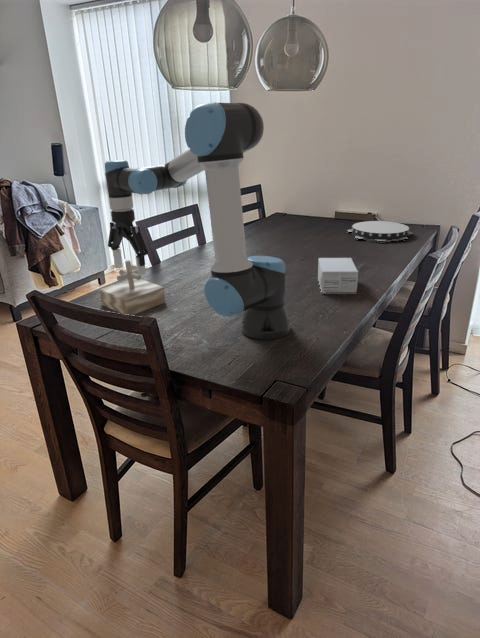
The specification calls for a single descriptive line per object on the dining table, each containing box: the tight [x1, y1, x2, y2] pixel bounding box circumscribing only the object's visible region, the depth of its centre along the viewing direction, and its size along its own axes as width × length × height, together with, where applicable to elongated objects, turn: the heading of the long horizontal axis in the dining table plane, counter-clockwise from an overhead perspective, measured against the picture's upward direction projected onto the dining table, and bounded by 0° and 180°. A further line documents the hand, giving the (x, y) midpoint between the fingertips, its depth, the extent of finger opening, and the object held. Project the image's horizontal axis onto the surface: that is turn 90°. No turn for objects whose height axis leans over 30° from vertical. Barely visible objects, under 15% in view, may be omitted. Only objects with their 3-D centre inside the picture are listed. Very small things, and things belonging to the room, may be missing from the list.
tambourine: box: [346, 220, 413, 241], centre depth 251 cm, size 34×33×5 cm
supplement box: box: [317, 257, 359, 293], centre depth 179 cm, size 17×13×9 cm
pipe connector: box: [116, 259, 142, 289], centre depth 164 cm, size 10×10×10 cm
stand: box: [99, 278, 166, 316], centre depth 168 cm, size 16×16×6 cm
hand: (130, 271), depth 164 cm, fingers open, 13 cm apart
